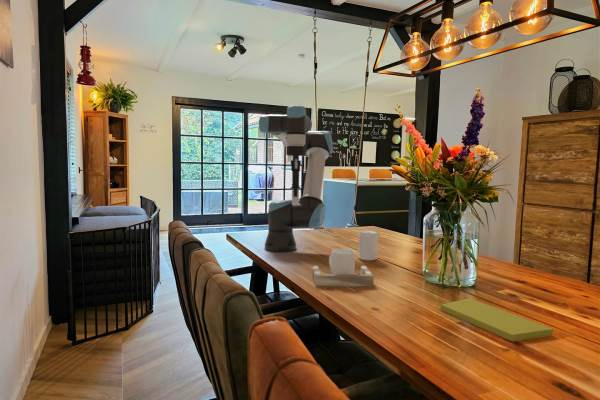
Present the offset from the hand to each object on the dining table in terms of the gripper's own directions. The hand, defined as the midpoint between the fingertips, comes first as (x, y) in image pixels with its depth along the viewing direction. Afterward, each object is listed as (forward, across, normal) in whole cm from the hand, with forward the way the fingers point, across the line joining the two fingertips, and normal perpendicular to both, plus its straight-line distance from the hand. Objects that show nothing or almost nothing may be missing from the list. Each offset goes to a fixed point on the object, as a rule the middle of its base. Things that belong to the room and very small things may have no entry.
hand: (295, 204), depth 156 cm
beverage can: (+25, -8, +32) cm, 41 cm away
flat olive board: (+25, +58, +51) cm, 81 cm away
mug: (+25, +20, +16) cm, 35 cm away
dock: (+24, +22, +16) cm, 37 cm away
